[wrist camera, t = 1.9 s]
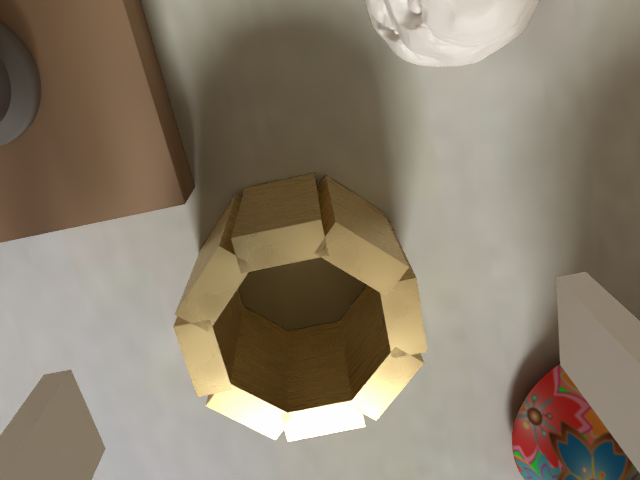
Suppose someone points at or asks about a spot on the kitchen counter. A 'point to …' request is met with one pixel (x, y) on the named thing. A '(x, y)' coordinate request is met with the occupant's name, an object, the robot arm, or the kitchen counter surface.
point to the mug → (565, 436)
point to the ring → (307, 343)
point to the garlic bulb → (448, 28)
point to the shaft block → (83, 117)
